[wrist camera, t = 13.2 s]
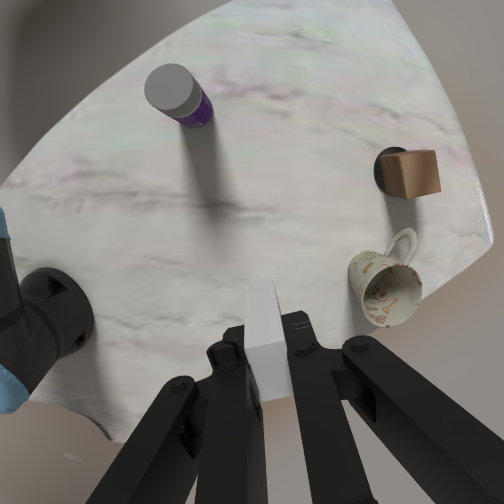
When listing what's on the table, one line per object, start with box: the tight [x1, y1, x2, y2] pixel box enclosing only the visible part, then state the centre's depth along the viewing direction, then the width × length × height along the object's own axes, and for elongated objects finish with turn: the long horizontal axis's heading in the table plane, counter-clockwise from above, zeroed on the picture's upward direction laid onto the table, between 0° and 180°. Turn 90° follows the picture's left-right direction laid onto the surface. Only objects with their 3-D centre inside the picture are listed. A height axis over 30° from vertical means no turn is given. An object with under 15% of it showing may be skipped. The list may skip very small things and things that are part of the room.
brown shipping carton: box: [379, 150, 441, 199], centre depth 37 cm, size 5×5×7 cm
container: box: [144, 64, 213, 128], centre depth 32 cm, size 5×5×15 cm
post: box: [374, 147, 407, 196], centre depth 38 cm, size 7×7×7 cm
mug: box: [348, 228, 422, 327], centre depth 40 cm, size 8×13×10 cm, turn 154°
